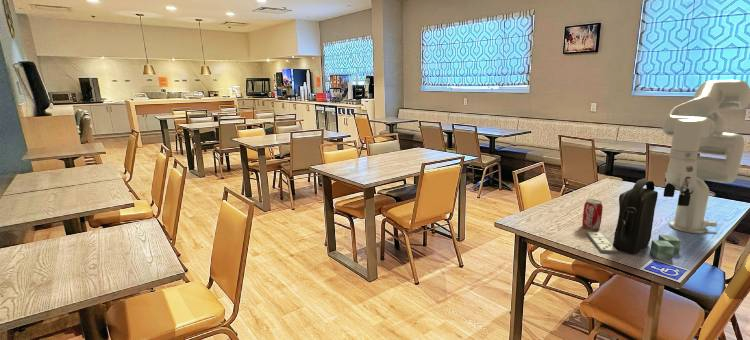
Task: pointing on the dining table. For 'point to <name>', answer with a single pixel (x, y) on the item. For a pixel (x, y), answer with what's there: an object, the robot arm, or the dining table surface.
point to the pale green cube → (671, 241)
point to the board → (601, 242)
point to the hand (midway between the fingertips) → (675, 200)
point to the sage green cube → (662, 249)
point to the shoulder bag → (635, 217)
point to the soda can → (592, 214)
